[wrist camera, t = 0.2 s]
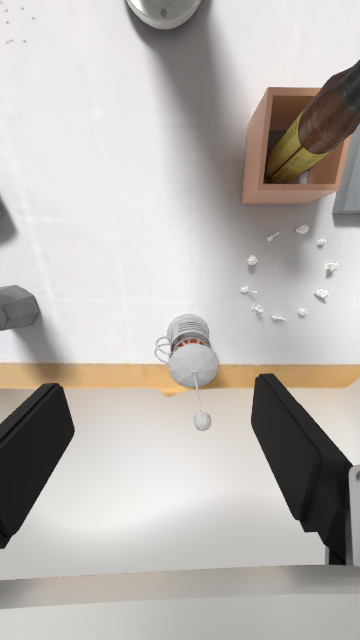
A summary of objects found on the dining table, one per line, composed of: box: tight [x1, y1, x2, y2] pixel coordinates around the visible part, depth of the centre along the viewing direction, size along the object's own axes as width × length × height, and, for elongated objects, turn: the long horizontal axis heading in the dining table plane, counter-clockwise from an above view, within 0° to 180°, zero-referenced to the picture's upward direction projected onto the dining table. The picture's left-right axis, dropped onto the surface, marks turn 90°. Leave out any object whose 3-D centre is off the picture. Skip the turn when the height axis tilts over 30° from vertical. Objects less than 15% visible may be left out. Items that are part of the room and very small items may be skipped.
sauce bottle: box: [265, 60, 360, 184], centre depth 23 cm, size 7×6×20 cm
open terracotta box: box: [241, 87, 351, 204], centre depth 29 cm, size 12×13×7 cm
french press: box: [154, 314, 219, 431], centre depth 30 cm, size 10×12×25 cm
